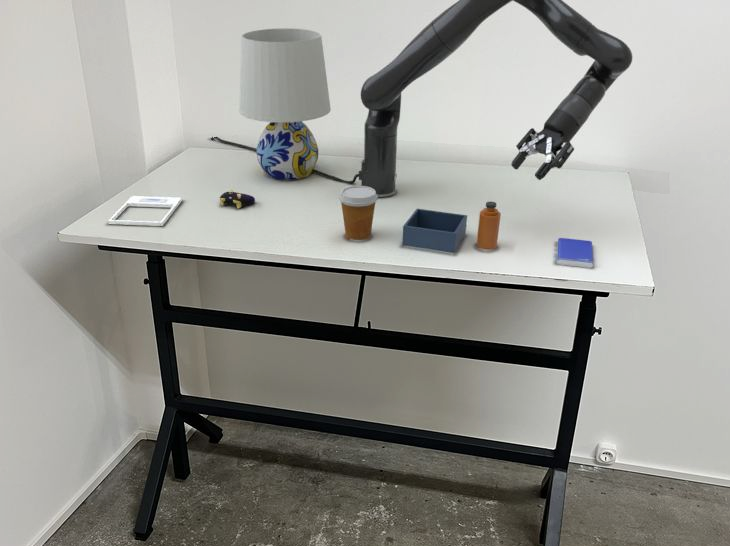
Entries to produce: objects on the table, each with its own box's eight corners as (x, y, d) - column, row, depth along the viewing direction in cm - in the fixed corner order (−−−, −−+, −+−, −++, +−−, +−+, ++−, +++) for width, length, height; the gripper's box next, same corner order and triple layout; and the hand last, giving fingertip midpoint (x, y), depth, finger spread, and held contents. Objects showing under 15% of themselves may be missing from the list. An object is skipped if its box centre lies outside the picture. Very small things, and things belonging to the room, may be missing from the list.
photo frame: (181, 197, 202) (161, 221, 187) (182, 200, 202) (162, 225, 187) (131, 195, 203) (107, 220, 188) (132, 199, 203) (108, 223, 188)
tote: (402, 247, 177) (403, 226, 174) (415, 228, 186) (416, 208, 183) (454, 255, 173) (455, 233, 170) (465, 235, 182) (467, 215, 179)
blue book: (593, 262, 166) (592, 240, 176) (557, 258, 168) (558, 237, 178) (592, 268, 167) (591, 246, 177) (556, 264, 169) (557, 243, 179)
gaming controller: (257, 198, 201) (248, 189, 196) (251, 216, 200) (241, 207, 195) (228, 193, 205) (218, 184, 199) (222, 210, 204) (212, 201, 198)
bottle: (474, 249, 175) (478, 205, 169) (478, 241, 179) (483, 198, 173) (494, 252, 174) (499, 208, 168) (498, 244, 178) (503, 201, 172)
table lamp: (283, 153, 238) (276, 24, 217) (349, 169, 225) (348, 32, 203) (226, 176, 220) (212, 36, 198) (294, 194, 207) (286, 47, 185)
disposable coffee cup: (348, 247, 177) (348, 201, 170) (333, 232, 184) (333, 188, 177) (383, 240, 180) (384, 195, 173) (367, 226, 187) (367, 182, 181)
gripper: (541, 101, 173) (498, 155, 175) (583, 115, 163) (538, 172, 164) (554, 120, 178) (513, 172, 180) (596, 135, 168) (552, 190, 170)
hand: (525, 172), depth 172 cm, fingers open, 8 cm apart
